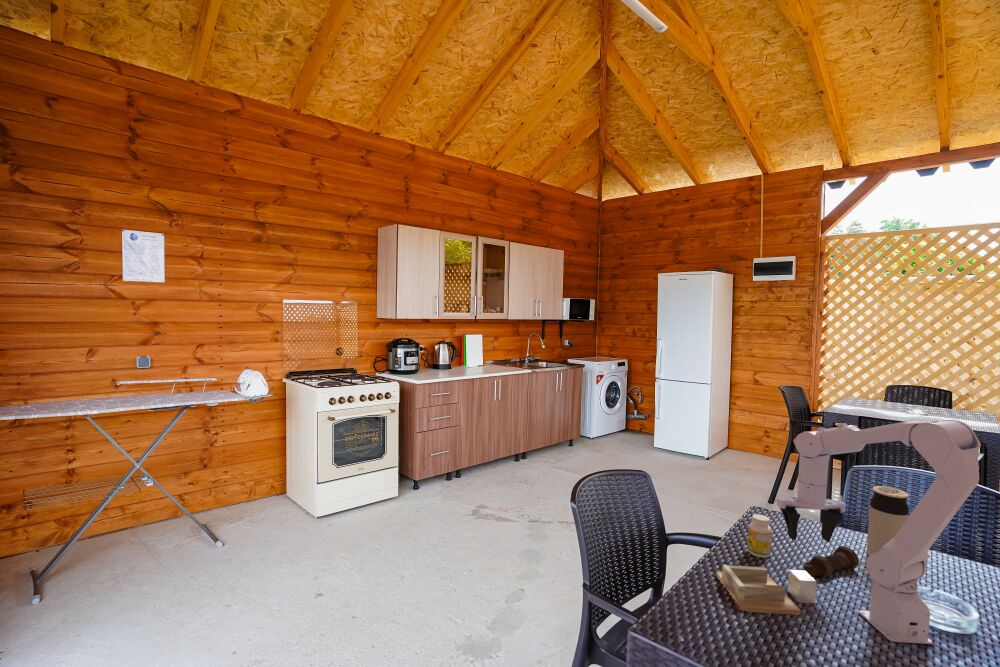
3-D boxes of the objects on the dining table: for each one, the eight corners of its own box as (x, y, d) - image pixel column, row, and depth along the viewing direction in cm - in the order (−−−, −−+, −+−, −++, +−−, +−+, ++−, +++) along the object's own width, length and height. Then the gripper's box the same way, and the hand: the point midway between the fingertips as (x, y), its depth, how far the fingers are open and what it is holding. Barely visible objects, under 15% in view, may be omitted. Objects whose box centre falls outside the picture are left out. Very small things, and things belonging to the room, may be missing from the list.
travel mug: (859, 553, 133) (864, 487, 132) (879, 549, 136) (884, 484, 135) (891, 568, 126) (897, 498, 125) (912, 563, 129) (917, 494, 128)
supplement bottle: (771, 560, 128) (774, 523, 127) (748, 555, 130) (750, 519, 129) (768, 550, 133) (770, 515, 133) (746, 546, 135) (748, 511, 134)
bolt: (804, 583, 121) (844, 570, 127) (823, 583, 117) (863, 569, 123) (794, 558, 123) (833, 546, 129) (812, 556, 119) (852, 544, 125)
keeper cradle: (800, 614, 105) (801, 596, 104) (741, 611, 105) (743, 592, 105) (767, 578, 119) (768, 562, 118) (716, 575, 119) (717, 559, 119)
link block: (815, 603, 109) (816, 581, 109) (798, 602, 109) (800, 580, 109) (803, 591, 114) (804, 570, 113) (787, 591, 114) (789, 569, 114)
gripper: (834, 478, 121) (830, 533, 121) (772, 474, 121) (769, 529, 122) (853, 488, 114) (849, 546, 114) (787, 484, 114) (783, 543, 115)
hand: (808, 539), depth 118 cm, fingers open, 7 cm apart
